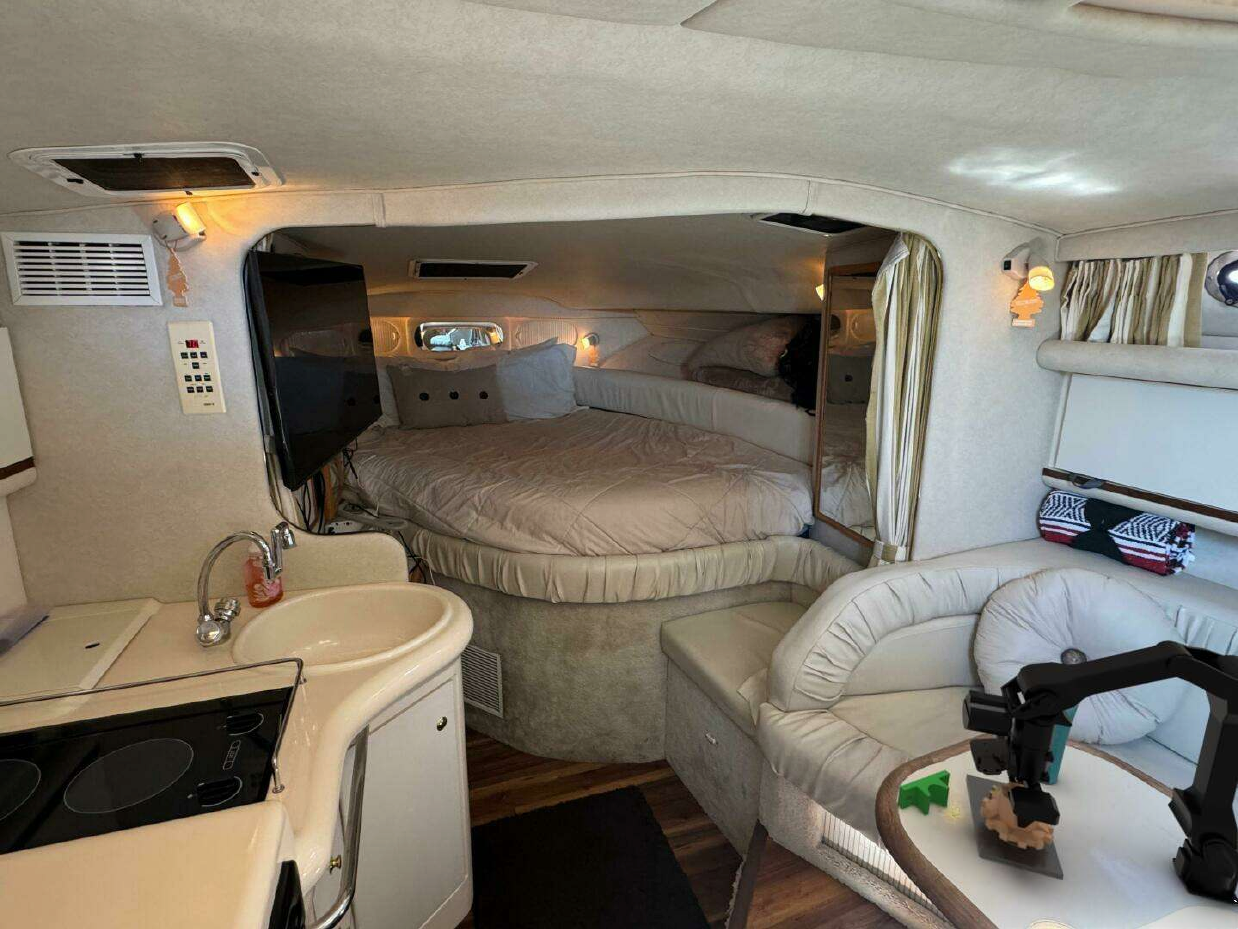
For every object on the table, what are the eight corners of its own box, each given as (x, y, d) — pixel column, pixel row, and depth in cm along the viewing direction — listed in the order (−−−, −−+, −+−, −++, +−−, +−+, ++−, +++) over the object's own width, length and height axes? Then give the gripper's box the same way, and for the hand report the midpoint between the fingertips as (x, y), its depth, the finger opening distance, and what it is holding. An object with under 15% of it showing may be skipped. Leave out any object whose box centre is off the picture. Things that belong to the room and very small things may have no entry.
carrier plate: (1036, 795, 119) (1043, 764, 117) (1062, 880, 102) (1070, 845, 100) (966, 778, 124) (970, 748, 122) (979, 857, 107) (985, 823, 105)
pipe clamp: (912, 821, 114) (915, 801, 113) (897, 806, 118) (899, 786, 116) (959, 802, 118) (961, 782, 117) (942, 788, 121) (945, 769, 120)
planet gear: (1044, 808, 112) (1050, 781, 110) (1060, 858, 103) (1066, 828, 101) (976, 792, 116) (980, 765, 114) (985, 838, 106) (990, 810, 105)
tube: (1068, 781, 122) (1086, 697, 117) (1056, 792, 120) (1073, 707, 114) (1028, 758, 128) (1043, 677, 123) (1015, 768, 126) (1030, 686, 120)
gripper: (969, 695, 116) (959, 765, 120) (984, 765, 99) (972, 843, 103) (1040, 708, 112) (1027, 780, 116) (1068, 783, 95) (1051, 864, 99)
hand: (1017, 814), depth 109 cm, fingers closed on planet gear, 5 cm apart
